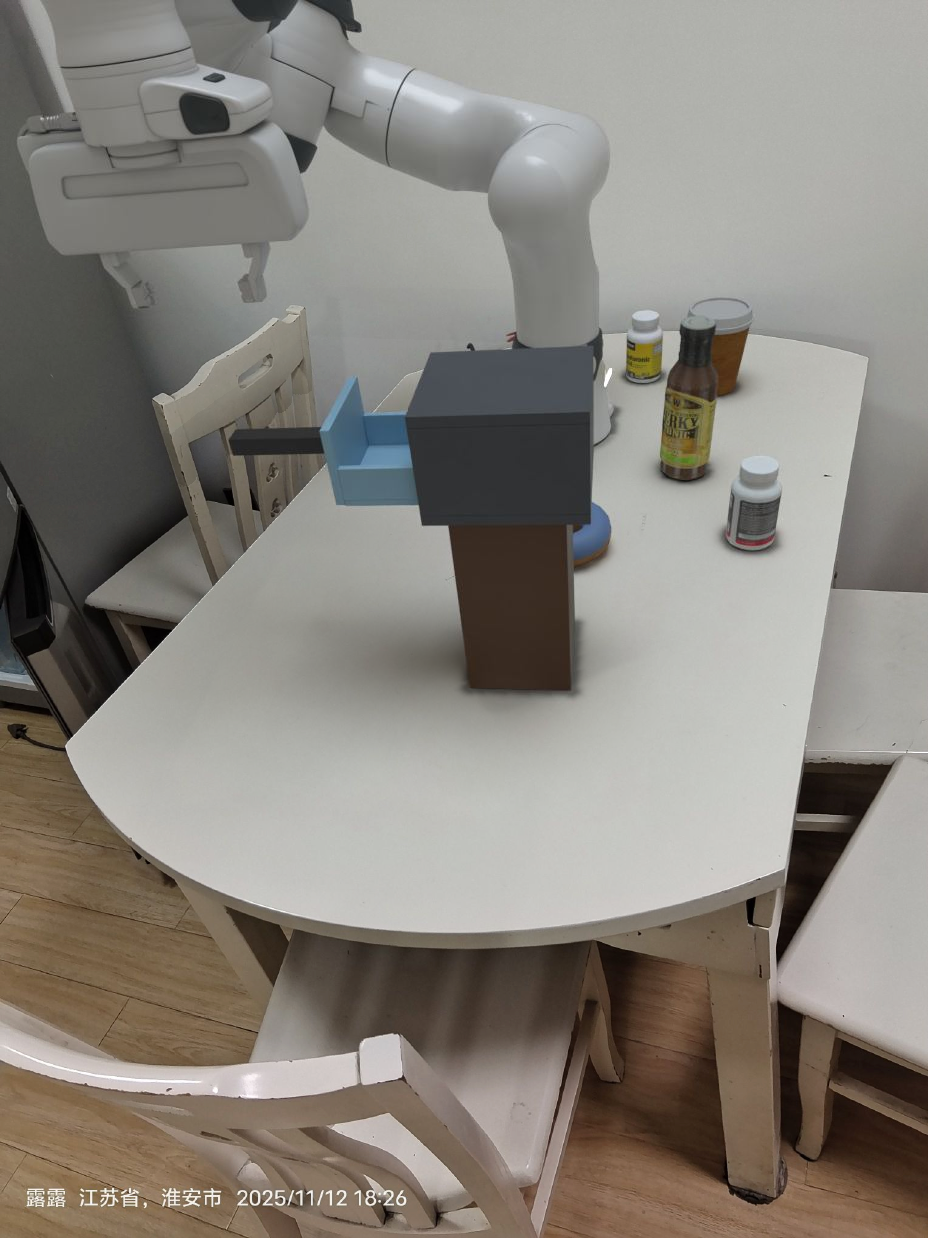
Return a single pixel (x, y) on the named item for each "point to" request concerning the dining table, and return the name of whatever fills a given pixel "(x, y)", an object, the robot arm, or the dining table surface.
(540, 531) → the dispenser
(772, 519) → the pill bottle
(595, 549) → the doughnut
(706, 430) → the sauce bottle
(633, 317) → the supplement bottle
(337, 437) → the tray
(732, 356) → the disposable coffee cup
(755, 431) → the dining table surface
